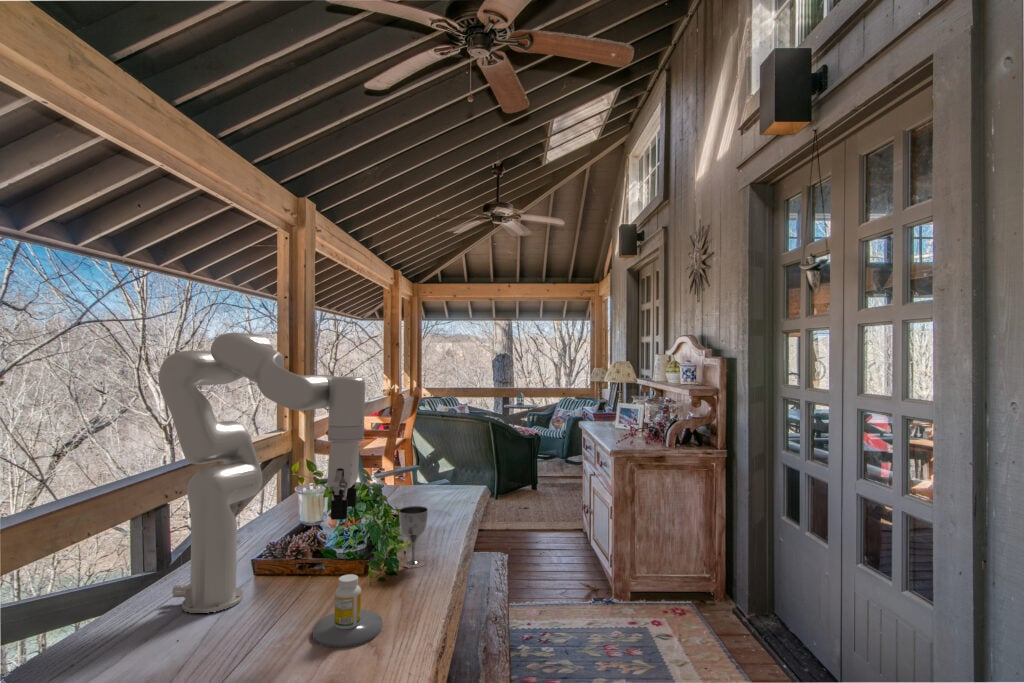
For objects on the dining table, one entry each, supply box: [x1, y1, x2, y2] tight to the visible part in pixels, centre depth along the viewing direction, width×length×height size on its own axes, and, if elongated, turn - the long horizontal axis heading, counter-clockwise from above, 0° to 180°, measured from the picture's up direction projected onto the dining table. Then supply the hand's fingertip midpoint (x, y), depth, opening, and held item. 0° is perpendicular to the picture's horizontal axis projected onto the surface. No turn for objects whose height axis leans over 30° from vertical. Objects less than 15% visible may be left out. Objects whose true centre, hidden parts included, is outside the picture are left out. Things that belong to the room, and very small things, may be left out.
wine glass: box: [398, 505, 429, 565], centre depth 153 cm, size 8×8×15 cm
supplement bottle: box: [334, 573, 362, 629], centre depth 115 cm, size 5×5×10 cm
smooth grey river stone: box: [312, 609, 383, 649], centre depth 115 cm, size 14×14×1 cm
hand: (343, 512), depth 118 cm, fingers open, 9 cm apart
